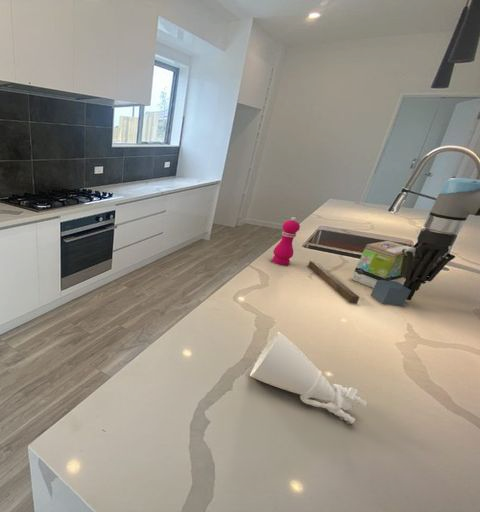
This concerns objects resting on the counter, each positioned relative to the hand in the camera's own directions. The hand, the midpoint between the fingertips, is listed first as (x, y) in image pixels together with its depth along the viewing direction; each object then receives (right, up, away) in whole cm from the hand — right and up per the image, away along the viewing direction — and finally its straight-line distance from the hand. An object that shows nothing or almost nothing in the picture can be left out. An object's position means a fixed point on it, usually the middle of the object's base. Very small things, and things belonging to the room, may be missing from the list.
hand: (405, 297), depth 99 cm
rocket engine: (-62, -15, -38) cm, 74 cm away
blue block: (-5, -1, +1) cm, 5 cm away
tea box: (+3, +4, +14) cm, 15 cm away
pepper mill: (-24, +11, +29) cm, 39 cm away
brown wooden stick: (-16, +4, +12) cm, 20 cm away
